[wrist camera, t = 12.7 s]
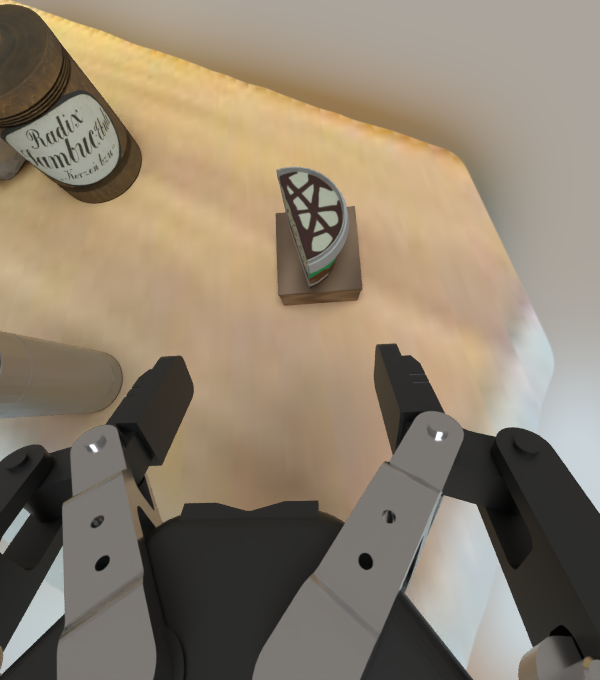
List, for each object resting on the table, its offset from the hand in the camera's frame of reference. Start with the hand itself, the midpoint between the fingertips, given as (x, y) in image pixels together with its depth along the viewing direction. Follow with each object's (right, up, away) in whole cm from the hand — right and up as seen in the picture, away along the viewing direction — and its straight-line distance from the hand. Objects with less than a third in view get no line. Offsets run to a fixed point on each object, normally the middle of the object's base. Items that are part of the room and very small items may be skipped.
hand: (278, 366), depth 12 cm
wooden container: (-34, +32, +41) cm, 62 cm away
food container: (+4, +13, +29) cm, 32 cm away
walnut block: (+4, +13, +33) cm, 36 cm away
